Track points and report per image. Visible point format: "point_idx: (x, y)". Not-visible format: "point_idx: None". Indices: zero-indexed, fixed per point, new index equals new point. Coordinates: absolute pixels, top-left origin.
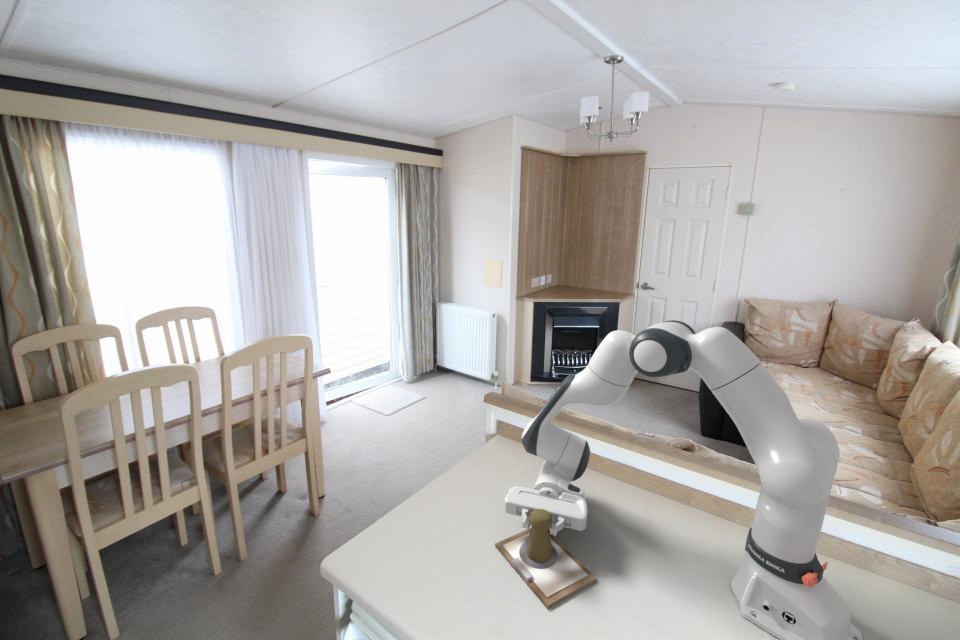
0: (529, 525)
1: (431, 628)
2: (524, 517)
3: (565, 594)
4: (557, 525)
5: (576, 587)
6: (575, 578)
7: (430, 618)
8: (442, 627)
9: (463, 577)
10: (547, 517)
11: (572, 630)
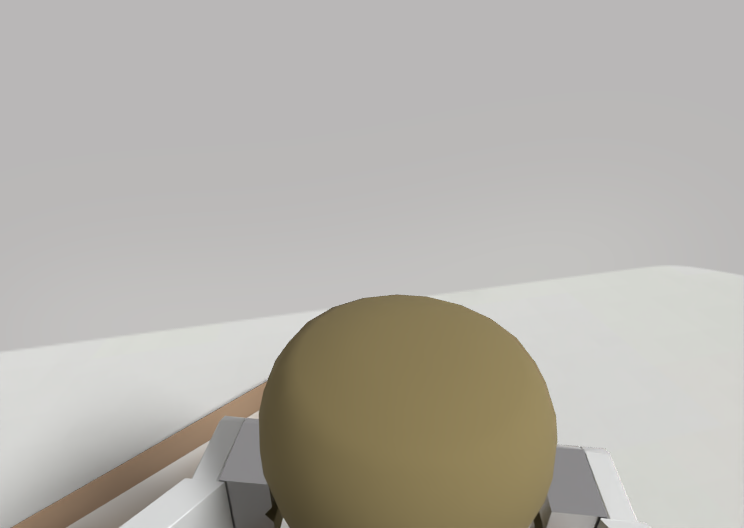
0: (531, 526)
1: (638, 273)
2: (634, 517)
3: (232, 405)
4: (197, 472)
5: (164, 446)
6: (149, 492)
7: (666, 288)
8: (614, 278)
9: (715, 416)
10: (323, 325)
11: (234, 323)
